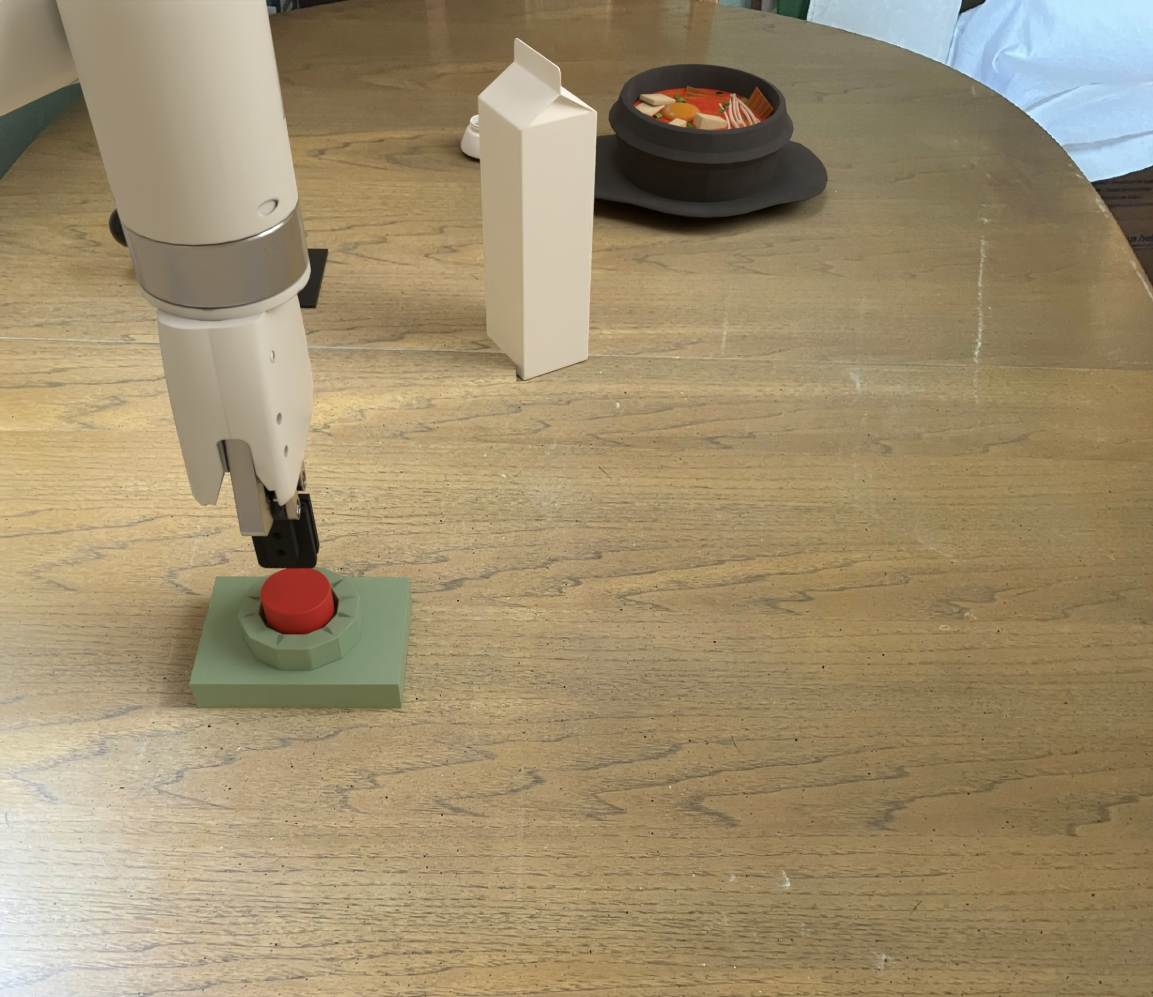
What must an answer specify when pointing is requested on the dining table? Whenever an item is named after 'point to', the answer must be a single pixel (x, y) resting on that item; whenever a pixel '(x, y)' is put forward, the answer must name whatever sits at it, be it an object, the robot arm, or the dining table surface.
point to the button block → (305, 648)
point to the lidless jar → (472, 138)
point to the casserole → (703, 145)
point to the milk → (537, 214)
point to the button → (297, 600)
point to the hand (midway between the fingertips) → (290, 558)
